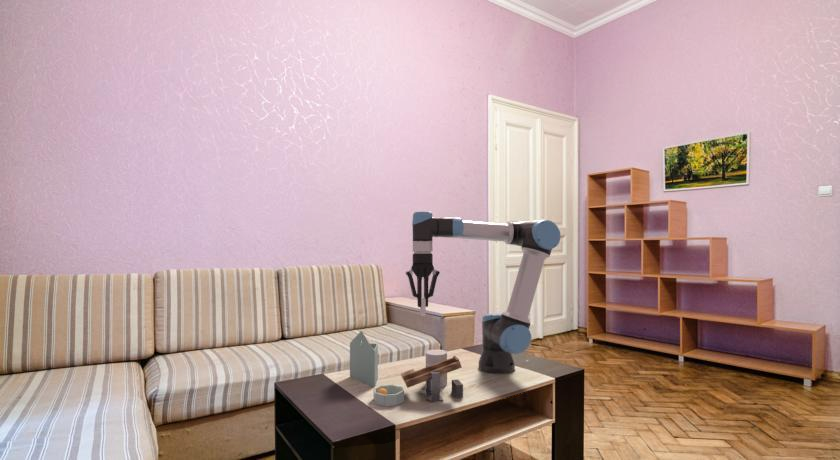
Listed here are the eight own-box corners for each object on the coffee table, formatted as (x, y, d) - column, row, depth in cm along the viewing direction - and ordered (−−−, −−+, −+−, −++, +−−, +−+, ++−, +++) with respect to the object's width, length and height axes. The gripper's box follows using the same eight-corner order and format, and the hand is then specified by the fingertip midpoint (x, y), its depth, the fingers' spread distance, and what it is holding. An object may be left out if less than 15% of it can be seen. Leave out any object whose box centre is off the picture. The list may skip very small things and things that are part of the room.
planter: (390, 382, 170) (389, 331, 170) (373, 387, 164) (373, 334, 165) (365, 372, 182) (365, 324, 182) (349, 377, 177) (349, 327, 177)
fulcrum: (436, 390, 160) (435, 364, 160) (443, 401, 150) (443, 373, 150) (422, 391, 159) (422, 365, 159) (428, 402, 149) (428, 374, 149)
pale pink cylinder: (445, 388, 163) (445, 355, 163) (423, 386, 165) (423, 354, 165) (448, 381, 171) (448, 350, 171) (427, 379, 173) (427, 349, 173)
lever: (451, 357, 167) (449, 350, 167) (461, 367, 154) (459, 359, 154) (401, 375, 163) (399, 368, 163) (407, 387, 150) (405, 380, 150)
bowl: (400, 393, 157) (400, 384, 157) (405, 404, 148) (405, 393, 148) (372, 396, 155) (372, 386, 155) (375, 406, 146) (375, 396, 146)
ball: (379, 385, 153) (374, 395, 152) (380, 388, 149) (375, 398, 149) (388, 388, 153) (384, 398, 153) (389, 392, 150) (385, 402, 150)
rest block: (458, 391, 160) (458, 379, 160) (463, 397, 154) (463, 384, 154) (451, 391, 159) (451, 379, 159) (456, 397, 153) (456, 385, 153)
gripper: (437, 252, 171) (437, 313, 171) (403, 252, 168) (404, 314, 168) (441, 252, 164) (442, 316, 163) (407, 253, 161) (407, 318, 161)
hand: (422, 315), depth 166 cm, fingers closed
